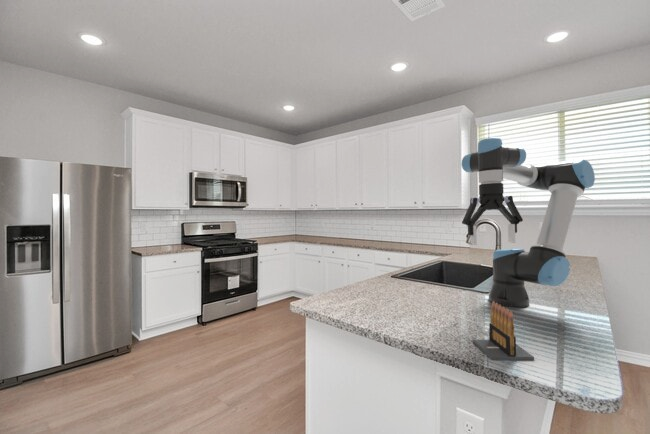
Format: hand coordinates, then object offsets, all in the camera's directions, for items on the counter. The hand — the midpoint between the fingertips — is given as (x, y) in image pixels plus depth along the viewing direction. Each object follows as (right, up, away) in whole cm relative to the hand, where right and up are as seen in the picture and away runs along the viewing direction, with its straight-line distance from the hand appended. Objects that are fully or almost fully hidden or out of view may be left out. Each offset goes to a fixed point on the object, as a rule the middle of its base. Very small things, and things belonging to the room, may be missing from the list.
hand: (492, 243), depth 108 cm
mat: (-9, -28, -22) cm, 37 cm away
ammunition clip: (-9, -28, -22) cm, 36 cm away
